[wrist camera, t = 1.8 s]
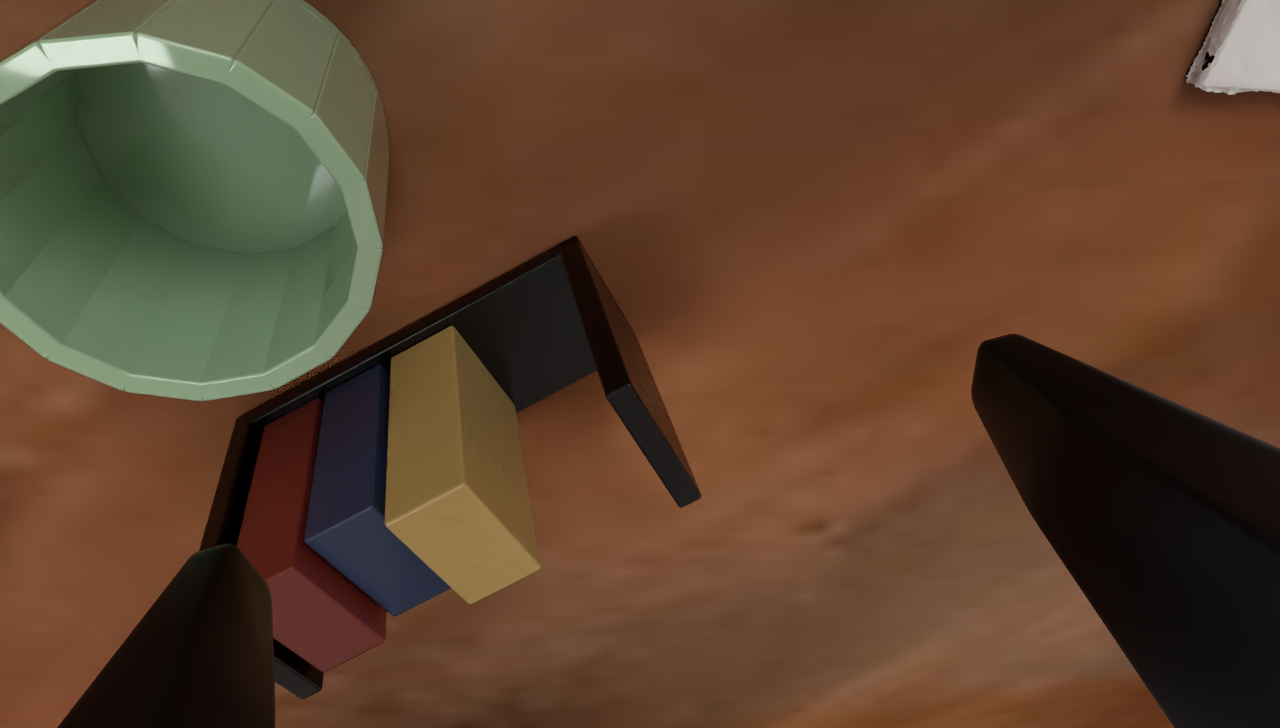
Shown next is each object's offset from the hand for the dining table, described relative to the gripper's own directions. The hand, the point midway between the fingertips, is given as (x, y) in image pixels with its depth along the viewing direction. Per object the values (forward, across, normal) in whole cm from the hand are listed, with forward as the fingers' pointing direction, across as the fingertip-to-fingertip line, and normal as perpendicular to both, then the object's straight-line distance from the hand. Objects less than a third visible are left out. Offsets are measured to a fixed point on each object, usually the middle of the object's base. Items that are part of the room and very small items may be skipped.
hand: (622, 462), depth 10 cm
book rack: (+12, +4, +8) cm, 15 cm away
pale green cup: (+13, +7, 0) cm, 14 cm away
